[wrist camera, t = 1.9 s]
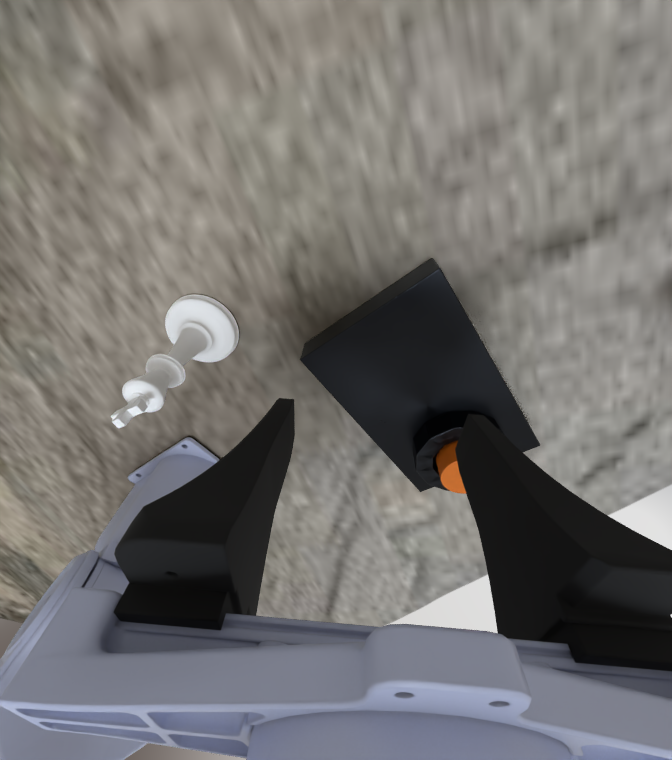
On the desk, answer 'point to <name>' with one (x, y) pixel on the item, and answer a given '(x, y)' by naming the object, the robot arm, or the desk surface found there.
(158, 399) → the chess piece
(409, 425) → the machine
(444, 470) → the button
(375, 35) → the desk surface
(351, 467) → the desk surface
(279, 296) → the desk surface
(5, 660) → the robot arm
